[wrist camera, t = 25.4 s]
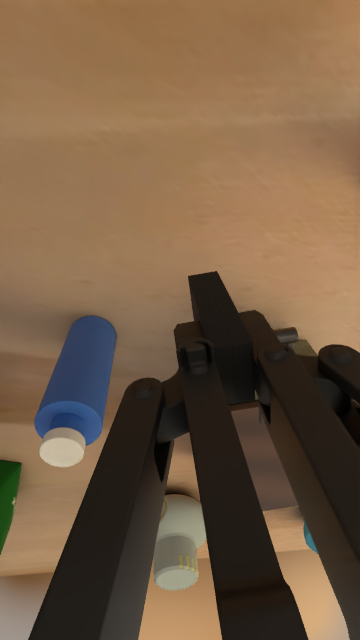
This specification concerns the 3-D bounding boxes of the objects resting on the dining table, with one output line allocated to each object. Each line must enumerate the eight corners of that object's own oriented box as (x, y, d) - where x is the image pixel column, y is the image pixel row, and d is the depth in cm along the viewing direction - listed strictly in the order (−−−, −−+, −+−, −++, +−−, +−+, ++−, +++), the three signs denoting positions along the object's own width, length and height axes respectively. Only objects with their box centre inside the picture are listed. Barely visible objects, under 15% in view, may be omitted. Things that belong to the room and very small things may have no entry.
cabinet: (190, 361, 40) (200, 416, 32) (307, 342, 40) (344, 393, 32) (204, 456, 48) (214, 518, 41) (301, 441, 48) (330, 500, 41)
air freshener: (175, 477, 50) (180, 551, 41) (215, 497, 53) (228, 570, 44) (129, 514, 53) (125, 589, 45) (169, 531, 56) (172, 605, 48)
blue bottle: (63, 319, 36) (12, 433, 23) (110, 312, 36) (87, 421, 23) (76, 357, 39) (37, 481, 25) (120, 350, 39) (105, 470, 25)
